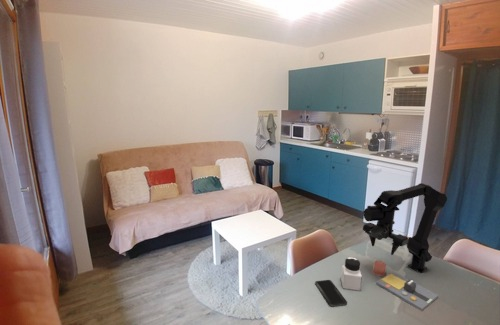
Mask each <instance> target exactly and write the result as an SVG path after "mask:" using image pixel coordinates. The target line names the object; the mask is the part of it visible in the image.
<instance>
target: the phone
mask: <svg viewBox="0 0 500 325" xmlns="http://www.w3.org/2000/svg"><path fill="white" fill-rule="evenodd" d="M314 285H315V287H316V288H317V290H318V291H319V293H320V294H321V296H322V297H323V299H324V300H325V302H326V303H327V305H328V307H330V308H334V307H335V308H336V307H343V306H347V305H348V301H347V300H346V298H345V297H344V295H342V293H341V291H340V290H339V289H338V287H337V286H336V285H335V283H334V282H333V281H332V280H331V279H324V280H317V281H315V283H314Z"/></svg>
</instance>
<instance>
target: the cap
mask: <svg viewBox="0 0 500 325" xmlns="http://www.w3.org/2000/svg"><path fill="white" fill-rule="evenodd" d="M386 267H387V264H386V263H385V262H384V261H382V260H378V259H377V260H374V262H373V269H372V273H373V274H374V275H376V276H378V277H385V276H386Z"/></svg>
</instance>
